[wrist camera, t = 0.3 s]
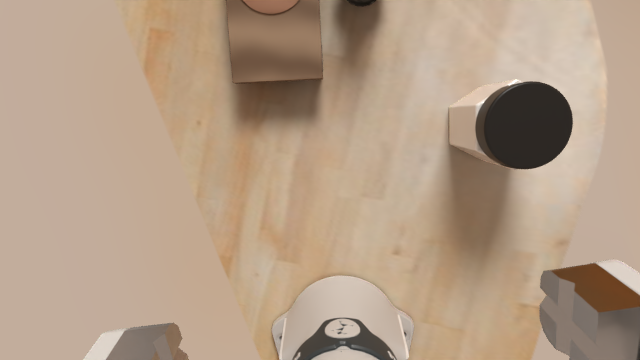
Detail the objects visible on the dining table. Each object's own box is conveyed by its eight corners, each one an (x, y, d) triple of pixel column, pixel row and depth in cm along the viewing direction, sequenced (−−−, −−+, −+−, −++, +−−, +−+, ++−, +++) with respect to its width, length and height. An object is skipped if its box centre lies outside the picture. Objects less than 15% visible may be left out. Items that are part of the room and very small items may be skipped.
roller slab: (323, 81, 48) (322, 77, 44) (241, 85, 49) (232, 82, 44) (317, -52, 46) (315, -71, 41) (231, -47, 46) (220, -65, 42)
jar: (466, 171, 49) (508, 189, 38) (432, 116, 48) (464, 116, 37) (530, 131, 48) (594, 136, 37) (496, 74, 47) (551, 60, 36)
